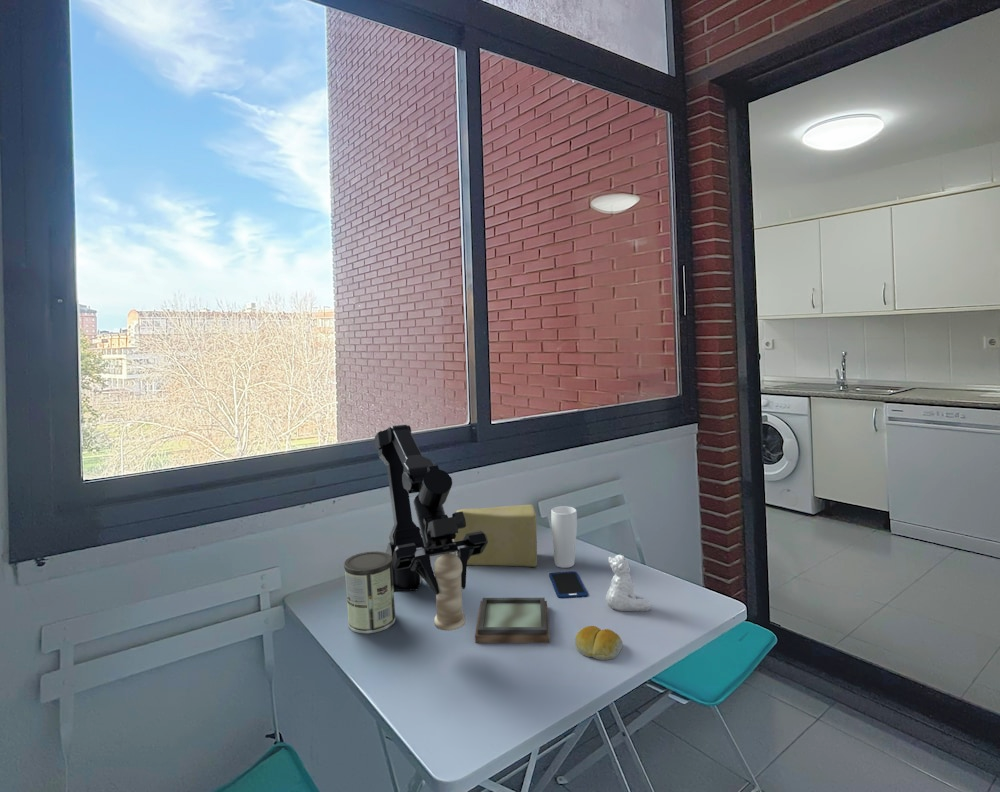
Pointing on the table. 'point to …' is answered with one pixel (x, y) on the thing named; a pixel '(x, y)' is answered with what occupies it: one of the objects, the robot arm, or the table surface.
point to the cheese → (503, 535)
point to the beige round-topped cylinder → (449, 592)
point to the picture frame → (512, 621)
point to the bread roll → (598, 643)
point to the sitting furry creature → (623, 588)
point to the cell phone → (568, 584)
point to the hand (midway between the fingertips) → (451, 591)
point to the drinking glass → (564, 535)
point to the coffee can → (370, 592)
